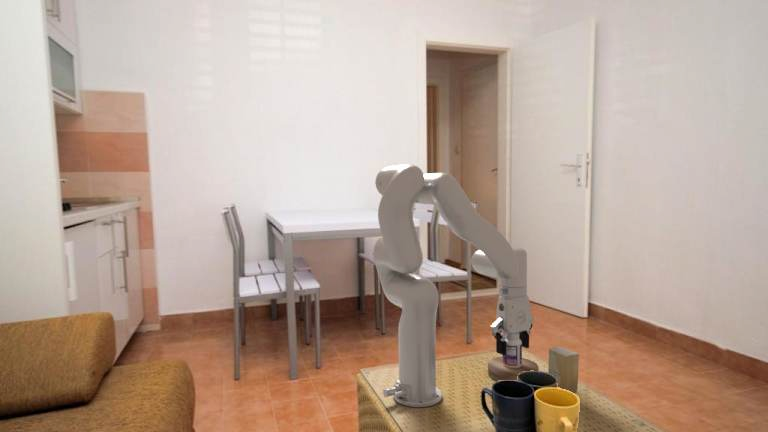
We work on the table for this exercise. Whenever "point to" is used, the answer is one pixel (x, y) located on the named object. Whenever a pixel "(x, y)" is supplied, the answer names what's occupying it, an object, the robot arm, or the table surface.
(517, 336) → the pill bottle
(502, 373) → the walnut base
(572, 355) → the skincare box
